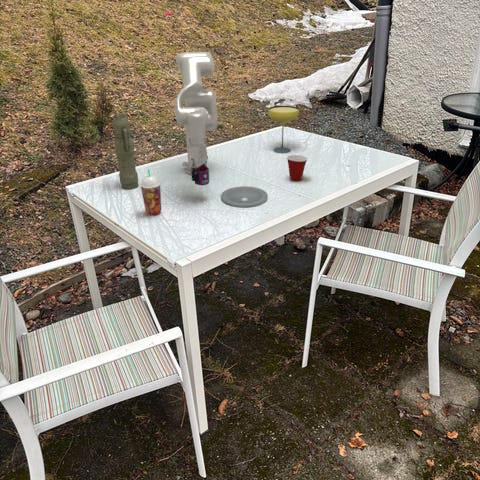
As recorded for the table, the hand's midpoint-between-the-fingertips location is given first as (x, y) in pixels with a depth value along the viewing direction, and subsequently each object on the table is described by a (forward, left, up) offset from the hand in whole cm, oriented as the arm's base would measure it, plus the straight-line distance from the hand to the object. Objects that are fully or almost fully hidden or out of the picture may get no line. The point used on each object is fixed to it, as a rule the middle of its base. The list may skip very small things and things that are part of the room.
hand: (199, 178), depth 202 cm
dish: (+18, +9, -10) cm, 23 cm away
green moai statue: (-41, -1, -11) cm, 42 cm away
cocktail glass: (+10, +83, -11) cm, 85 cm away
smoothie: (-12, -22, -11) cm, 27 cm away
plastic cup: (+33, +41, -11) cm, 54 cm away
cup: (0, +1, -2) cm, 2 cm away
